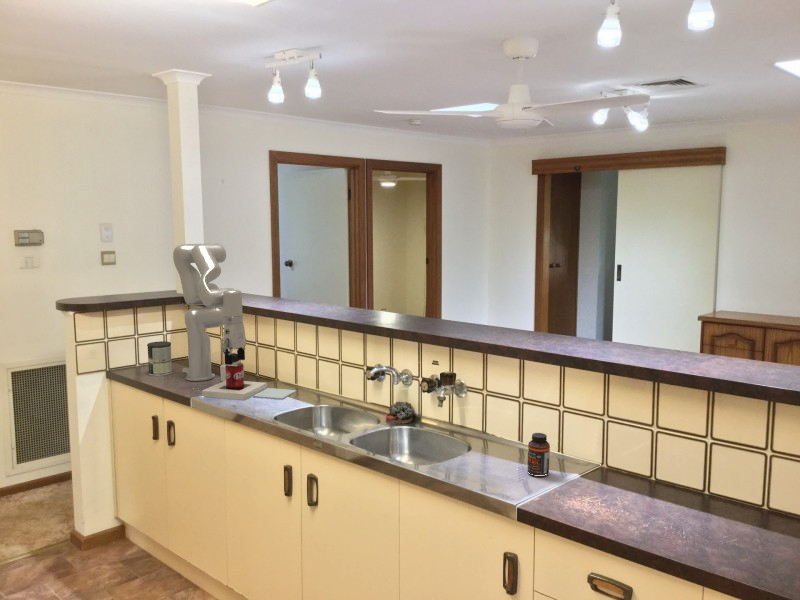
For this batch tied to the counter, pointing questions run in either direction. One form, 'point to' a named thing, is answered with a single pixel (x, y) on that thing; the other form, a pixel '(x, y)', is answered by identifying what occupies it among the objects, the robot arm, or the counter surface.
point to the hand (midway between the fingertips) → (235, 362)
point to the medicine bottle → (222, 367)
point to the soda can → (235, 376)
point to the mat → (275, 393)
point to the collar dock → (234, 391)
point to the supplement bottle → (538, 454)
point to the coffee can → (159, 358)
